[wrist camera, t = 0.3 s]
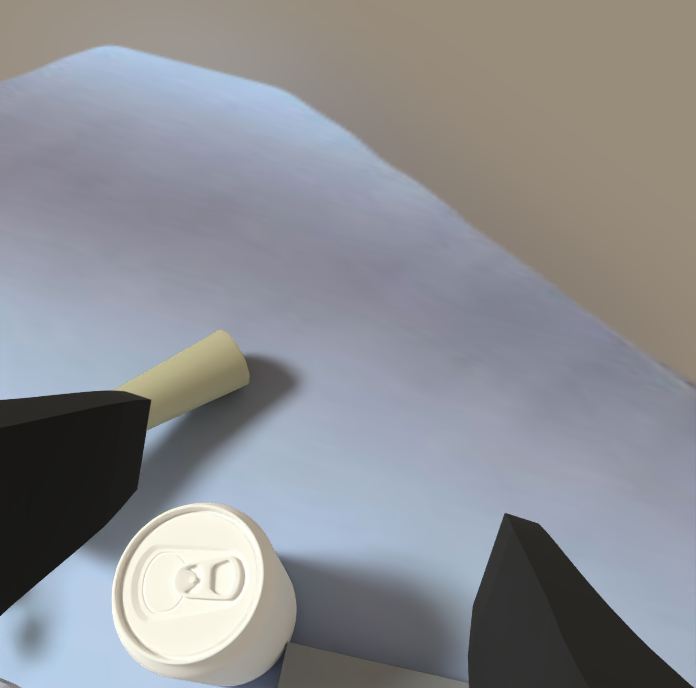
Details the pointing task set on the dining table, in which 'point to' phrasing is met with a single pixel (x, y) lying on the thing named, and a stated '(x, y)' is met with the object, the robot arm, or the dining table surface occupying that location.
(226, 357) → the flower vase
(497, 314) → the dining table surface
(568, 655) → the robot arm
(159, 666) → the beverage can
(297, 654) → the slate base
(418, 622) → the dining table surface
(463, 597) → the dining table surface
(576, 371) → the dining table surface
